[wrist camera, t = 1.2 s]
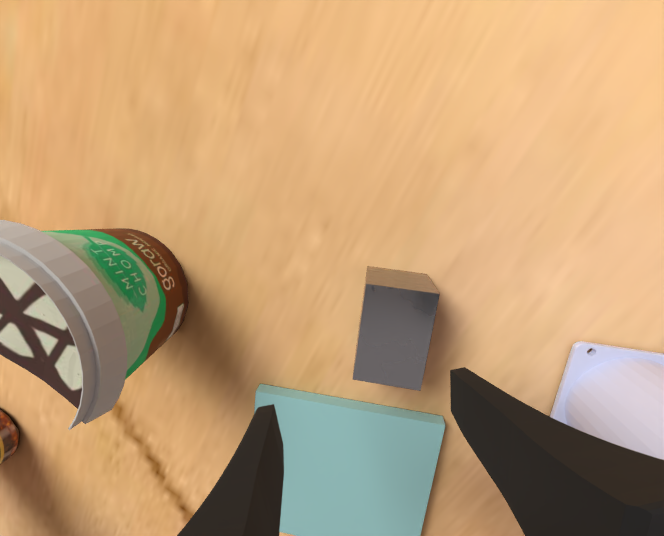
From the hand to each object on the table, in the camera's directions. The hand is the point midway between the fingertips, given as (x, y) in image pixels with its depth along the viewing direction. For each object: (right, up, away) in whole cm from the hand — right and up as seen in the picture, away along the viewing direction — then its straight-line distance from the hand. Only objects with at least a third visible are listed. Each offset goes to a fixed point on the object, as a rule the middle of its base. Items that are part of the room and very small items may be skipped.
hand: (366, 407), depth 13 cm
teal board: (-1, -11, +13) cm, 17 cm away
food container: (-15, +6, +11) cm, 20 cm away
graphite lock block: (+3, +3, +10) cm, 10 cm away
